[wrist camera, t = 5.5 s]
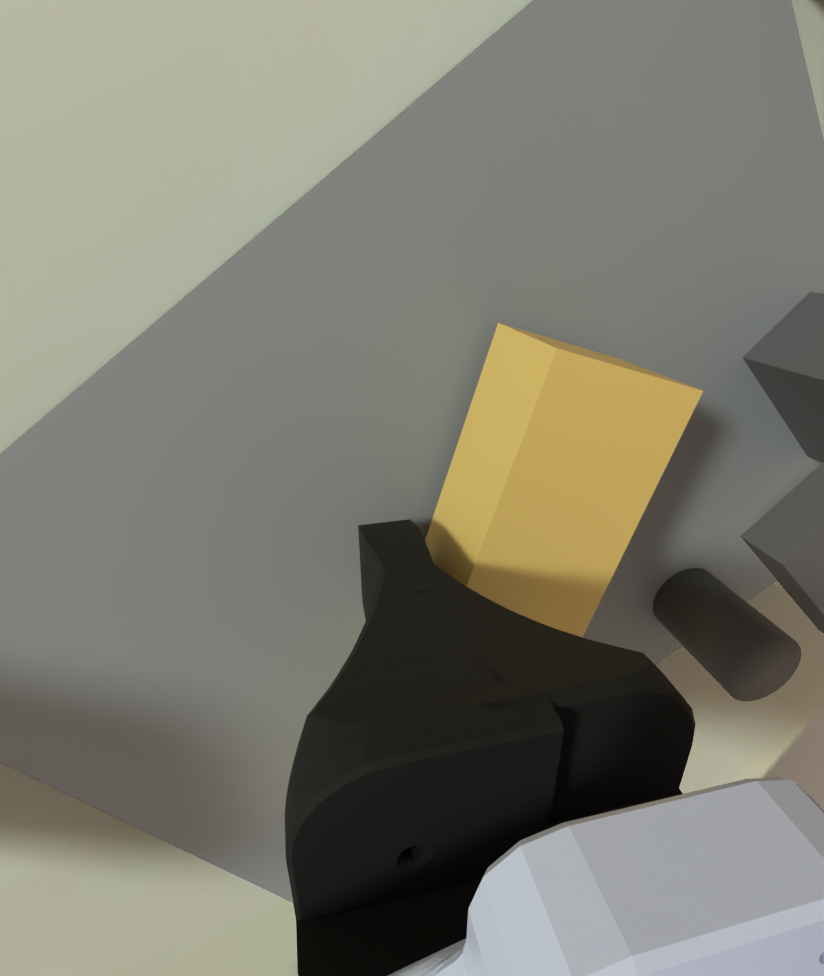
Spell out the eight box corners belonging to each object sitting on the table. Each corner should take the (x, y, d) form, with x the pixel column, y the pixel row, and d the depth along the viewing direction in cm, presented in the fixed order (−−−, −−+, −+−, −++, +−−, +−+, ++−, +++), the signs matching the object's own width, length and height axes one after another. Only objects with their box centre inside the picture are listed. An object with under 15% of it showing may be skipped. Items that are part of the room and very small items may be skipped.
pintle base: (872, 477, 17) (1115, 579, 12) (302, 876, 19) (311, 1101, 14) (705, -146, 10) (1156, -537, 5) (-194, 619, 12) (-531, 902, 7)
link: (444, 832, 18) (470, 923, 15) (295, 837, 16) (298, 938, 14) (653, 368, 12) (742, 401, 10) (456, 310, 11) (506, 333, 8)
